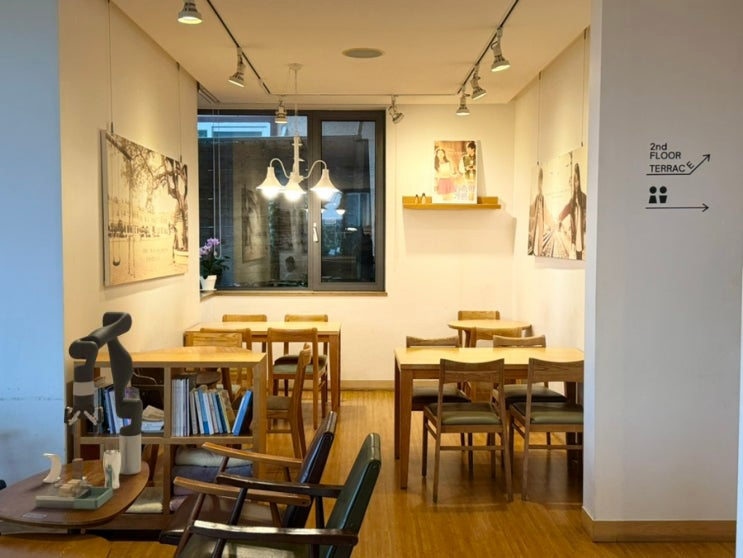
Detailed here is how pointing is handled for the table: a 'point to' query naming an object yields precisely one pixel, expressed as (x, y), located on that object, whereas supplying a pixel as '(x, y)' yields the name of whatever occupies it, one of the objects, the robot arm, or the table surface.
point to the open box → (61, 498)
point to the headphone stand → (54, 468)
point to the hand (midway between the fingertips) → (84, 434)
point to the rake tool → (78, 471)
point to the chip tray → (94, 498)
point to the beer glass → (112, 468)
